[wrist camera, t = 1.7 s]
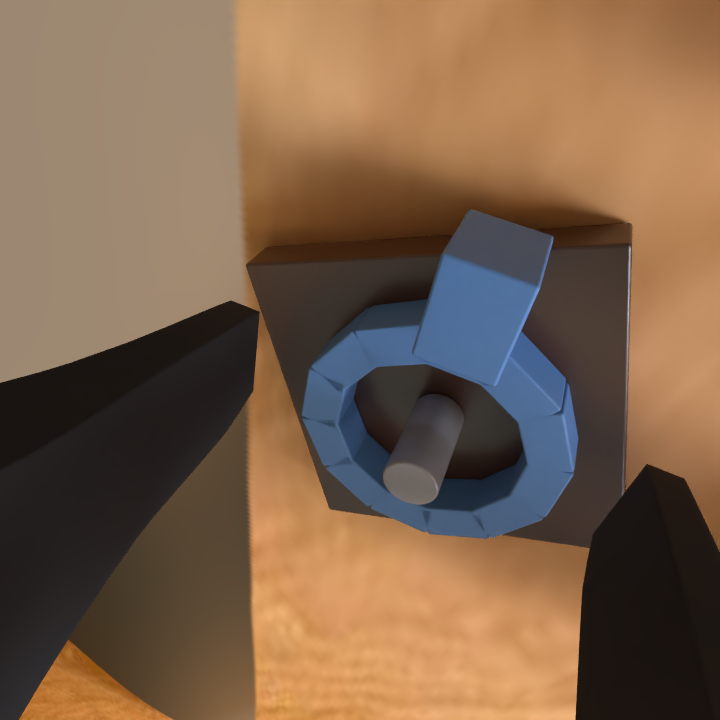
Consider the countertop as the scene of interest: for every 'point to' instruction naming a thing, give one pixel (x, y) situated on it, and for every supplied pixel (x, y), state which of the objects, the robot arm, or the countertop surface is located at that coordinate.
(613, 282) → the platform
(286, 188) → the countertop surface
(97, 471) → the robot arm
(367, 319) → the ring
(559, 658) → the countertop surface
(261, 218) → the countertop surface
